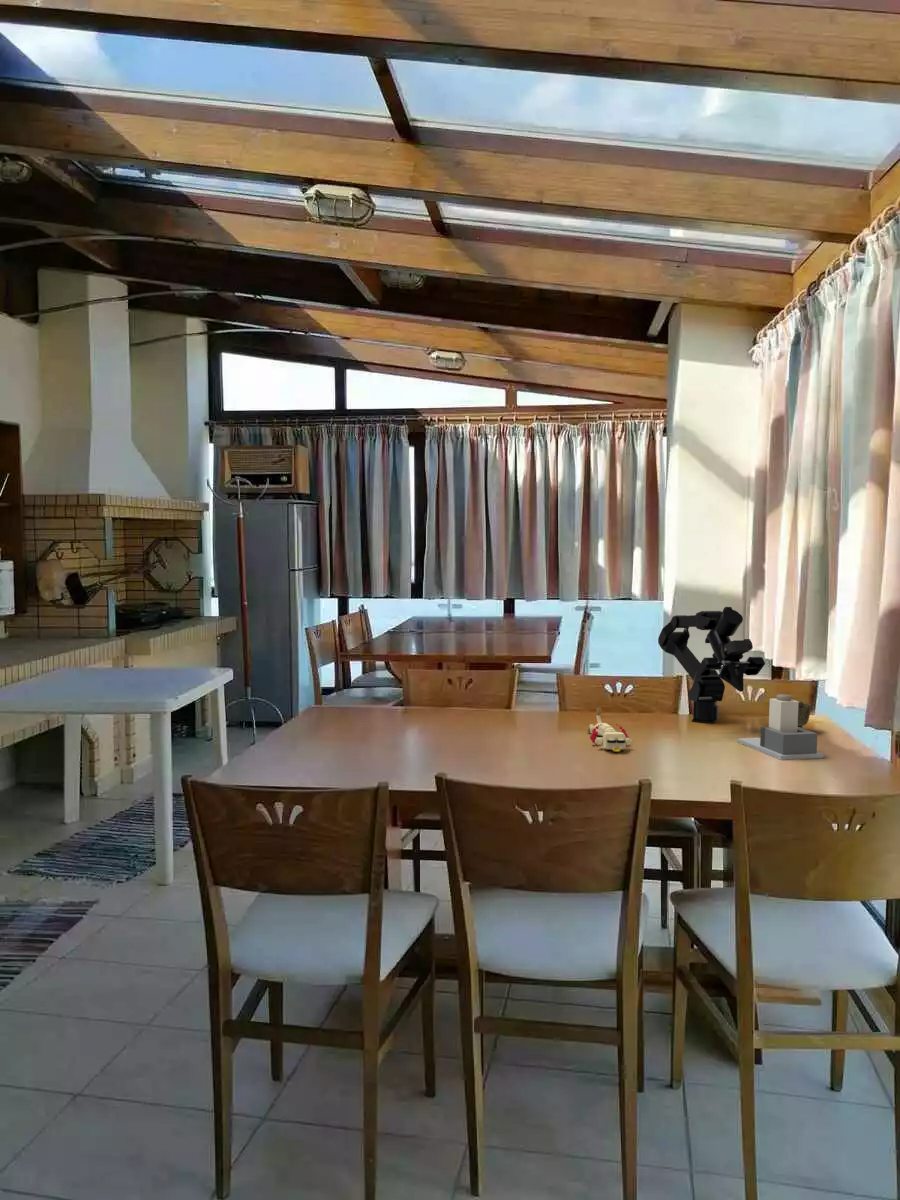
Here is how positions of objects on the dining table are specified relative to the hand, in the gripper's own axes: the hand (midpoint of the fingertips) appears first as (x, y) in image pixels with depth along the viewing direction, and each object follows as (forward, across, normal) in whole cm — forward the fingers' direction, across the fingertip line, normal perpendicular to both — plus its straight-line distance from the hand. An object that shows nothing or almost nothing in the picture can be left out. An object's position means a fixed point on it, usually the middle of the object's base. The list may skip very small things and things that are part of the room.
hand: (741, 690), depth 252 cm
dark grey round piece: (+8, +19, +10) cm, 23 cm away
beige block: (+22, 0, -7) cm, 23 cm away
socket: (+22, 0, -5) cm, 22 cm away
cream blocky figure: (+11, -41, +7) cm, 43 cm away
